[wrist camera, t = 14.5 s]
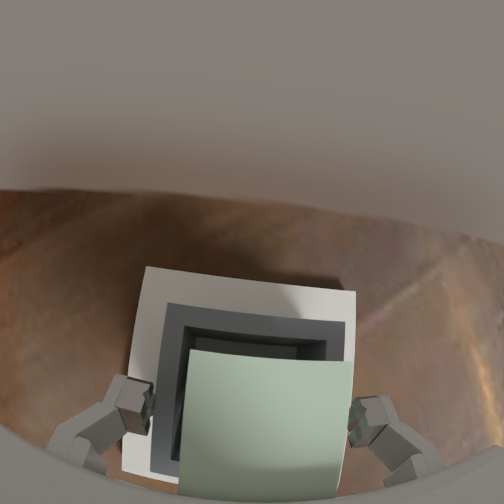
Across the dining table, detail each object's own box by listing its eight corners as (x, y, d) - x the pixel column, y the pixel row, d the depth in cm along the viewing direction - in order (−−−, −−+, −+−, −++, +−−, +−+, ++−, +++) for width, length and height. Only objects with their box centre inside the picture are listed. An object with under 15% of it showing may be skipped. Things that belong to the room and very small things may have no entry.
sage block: (270, 424, 16) (335, 498, 5) (204, 418, 16) (178, 495, 5) (276, 363, 18) (353, 361, 7) (210, 356, 18) (190, 348, 7)
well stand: (331, 481, 16) (373, 518, 9) (128, 464, 15) (90, 500, 8) (347, 296, 22) (396, 265, 15) (150, 272, 21) (120, 230, 14)
